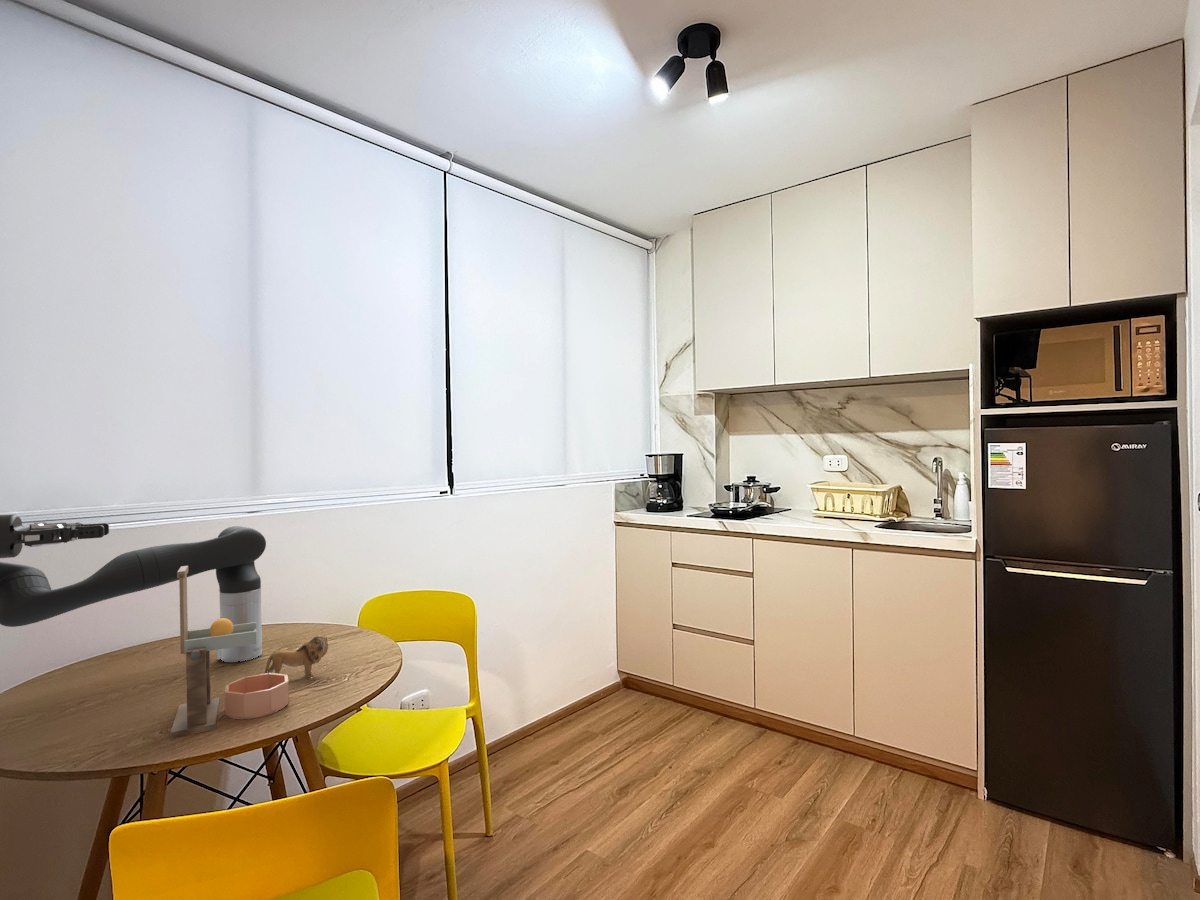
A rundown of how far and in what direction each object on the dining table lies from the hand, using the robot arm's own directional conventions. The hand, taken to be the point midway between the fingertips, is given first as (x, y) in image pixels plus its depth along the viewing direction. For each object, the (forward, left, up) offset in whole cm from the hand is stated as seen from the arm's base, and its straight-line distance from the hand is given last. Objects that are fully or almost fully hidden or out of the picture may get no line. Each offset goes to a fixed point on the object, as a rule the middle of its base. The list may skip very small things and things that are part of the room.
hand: (105, 530), depth 118 cm
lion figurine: (+14, +33, -38) cm, 52 cm away
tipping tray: (+13, +12, -24) cm, 30 cm away
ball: (+14, +12, -21) cm, 28 cm away
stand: (+11, +9, -38) cm, 41 cm away
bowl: (+18, +16, -38) cm, 45 cm away
